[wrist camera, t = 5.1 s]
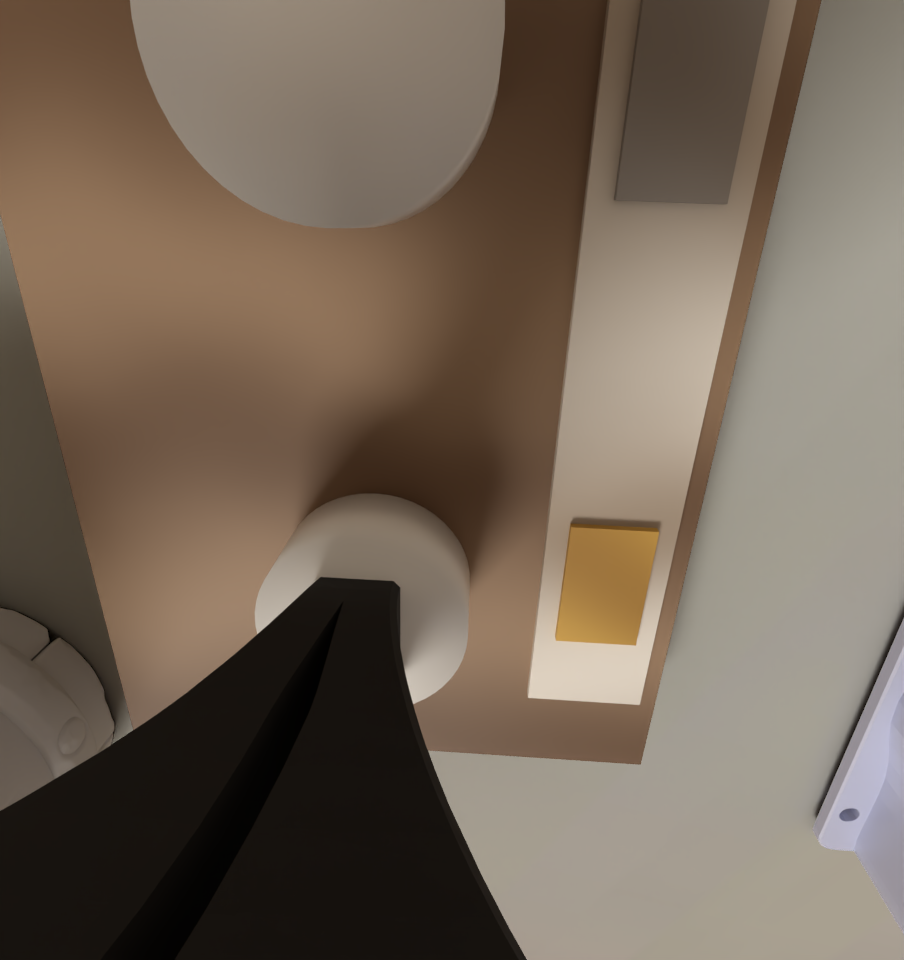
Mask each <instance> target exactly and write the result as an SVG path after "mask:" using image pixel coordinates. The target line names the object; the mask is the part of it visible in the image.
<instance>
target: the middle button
mask: <svg viewBox="0 0 904 960" xmlns="http://www.w3.org/2000/svg"><path fill="white" fill-rule="evenodd" d="M130 6H131V16H132V21H133V26H134V31H135V36H136V41H137V46H138V49H139V53H140V56H141V59H142V62H143V65H144V69H145V72H146V75H147V78H148V80H149V82H150V85H151V87H152V89H153V92H154V94H155V96H156V99H157V101H158V103H159V105H160V107H161V109H162V110H163V112H164V114H165V116H166V118H167V120H168V121H169V123H170V125H171V127H172V128H173V130H174V131H175V133H176V134H177V135H178V137H179V138H180V140H181V141H182V143H183V144H184V146H185V147H186V149H187V150H188V151H189V152H190V153H191V154H192V156H193V157H194V158H195V159H196V160H197V161H198V163H199V164H200V165H201V166H202V167H203V168H204V169H205V170H206V171H207V172H208V173H209V174H210V175H211V176H212V177H213V178H214V179H215V180H216V181H218V182H219V183H220V184H221V185H222V186H223V187H224V188H226V189H227V190H229V191H230V192H231V193H233V194H234V195H235V196H237V197H238V198H239V199H241V200H242V201H244V202H246V203H248V204H249V205H251V206H253V207H255V208H256V209H258V210H260V211H262V212H264V213H267V214H269V215H272V216H274V217H276V218H279V219H281V220H284V221H288V222H292V223H296V224H300V225H304V226H311V227H320V228H373V227H379V226H385V225H390V224H393V223H396V222H399V221H402V220H405V219H408V218H410V217H412V216H414V215H416V214H418V213H420V212H422V211H424V210H425V209H427V208H428V207H430V206H431V205H432V204H434V203H435V202H437V201H438V200H439V199H440V198H442V197H443V196H444V195H445V194H446V193H447V192H448V191H449V190H450V189H451V188H452V187H453V186H454V185H455V184H456V183H457V181H458V180H459V179H460V178H461V177H462V175H463V174H464V173H465V172H466V170H467V169H468V167H469V166H470V164H471V162H472V161H473V159H474V158H475V156H476V154H477V152H478V150H479V148H480V146H481V144H482V142H483V140H484V138H485V136H486V133H487V130H488V127H489V124H490V121H491V118H492V116H493V111H494V107H495V102H496V98H497V93H498V84H499V76H500V67H501V58H502V49H503V40H504V31H505V0H130Z"/></svg>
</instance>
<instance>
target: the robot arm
mask: <svg viewBox="0 0 904 960" xmlns="http://www.w3.org/2000/svg"><path fill="white" fill-rule="evenodd" d="M813 832H814V834H815V835H816V837H817V839H818V841H819V843H820V845H822V846H823V847H825V848H828V849H833V850H846V851H855V853H856V855H857V857H858V859H859V860H860V862H861V864H862V865H863V867H864V869H865V870H866V872H867V874H868V875H869V877H870V879H871V880H872V882H873V884H874V885H875V887H876V889H877V890H878V892H879V894H880V895H881V897H882V899H883V900H884V902H885V904H886V905H887V907H888V909H889V911H890V912H891V914H892V916H893V917H894V919H895V921H896V922H897V924H898V926H899V927H900V929H901V931H902V932H903V934H904V619H903V621H902V623H901V626H900V628H899V630H898V632H897V635H896V637H895V639H894V642H893V644H892V646H891V649H890V651H889V653H888V655H887V658H886V660H885V662H884V665H883V667H882V669H881V671H880V674H879V676H878V678H877V681H876V683H875V685H874V688H873V690H872V692H871V694H870V697H869V699H868V701H867V704H866V706H865V708H864V711H863V713H862V715H861V717H860V720H859V722H858V724H857V727H856V729H855V731H854V734H853V736H852V738H851V740H850V743H849V745H848V747H847V750H846V752H845V754H844V757H843V759H842V761H841V763H840V766H839V768H838V770H837V773H836V775H835V777H834V780H833V782H832V784H831V786H830V789H829V791H828V793H827V796H826V798H825V800H824V803H823V805H822V807H821V809H820V812H819V814H818V816H817V819H816V821H815V823H814V826H813ZM0 960H527V959H526V958H525V956H524V954H523V952H522V950H521V949H520V947H519V945H518V943H517V942H516V940H515V938H514V936H513V934H512V933H511V931H510V929H509V927H508V925H507V923H506V921H505V919H504V918H503V916H502V914H501V912H500V910H499V908H498V906H497V904H496V902H495V900H494V898H493V896H492V895H491V893H490V891H489V889H488V887H487V885H486V883H485V881H484V879H483V877H482V875H481V873H480V871H479V869H478V867H477V865H476V862H475V860H474V858H473V856H472V854H471V852H470V850H469V847H468V845H467V843H466V841H465V839H464V837H463V834H462V832H461V830H460V828H459V826H458V824H457V822H456V819H455V817H454V815H453V813H452V811H451V809H450V806H449V804H448V802H447V799H446V797H445V794H444V792H443V789H442V787H441V784H440V782H439V779H438V777H437V774H436V772H435V769H434V766H433V763H432V761H431V758H430V755H429V752H428V750H427V747H426V744H425V741H424V738H423V735H422V732H421V729H420V726H419V723H418V719H417V716H416V713H415V709H414V705H413V702H412V698H411V695H410V691H409V687H408V683H407V678H406V674H405V669H404V664H403V659H402V653H401V648H400V587H399V586H398V585H397V584H396V583H395V582H394V581H385V580H365V579H348V578H331V577H320V578H319V579H318V580H316V581H315V582H314V583H313V584H312V585H311V586H310V587H308V588H307V589H306V590H305V591H304V592H303V593H302V594H301V595H300V596H299V597H298V598H297V599H295V600H294V601H293V602H292V603H291V604H290V605H289V606H288V607H287V608H286V609H285V610H284V611H283V612H281V613H280V614H279V615H278V616H277V617H276V618H275V619H274V620H273V621H272V622H271V623H269V624H268V625H267V626H266V627H265V628H264V629H263V630H262V631H260V632H259V633H258V634H257V635H256V636H255V637H254V638H252V639H251V640H250V641H249V642H248V643H247V644H246V645H244V646H243V647H242V648H241V649H240V650H239V651H238V652H236V653H235V654H234V655H233V656H232V657H230V658H229V659H228V660H227V661H226V662H224V663H223V664H222V665H221V666H219V667H218V668H217V669H216V670H214V671H213V672H212V673H211V674H209V675H208V676H207V677H206V678H204V679H203V680H202V681H201V682H199V683H198V684H197V685H196V686H194V687H193V688H192V689H191V690H189V691H188V692H187V693H186V694H184V695H183V696H181V697H180V698H179V699H177V700H176V701H175V702H173V703H172V704H171V705H169V706H168V707H166V708H165V709H164V710H162V711H161V712H159V713H158V714H157V715H155V716H154V717H152V718H151V719H149V720H148V721H146V722H145V723H143V724H142V725H140V726H139V727H137V728H136V729H134V730H133V731H131V732H130V733H128V734H127V735H126V736H124V737H123V738H121V739H120V740H118V741H117V742H115V743H113V744H112V745H110V746H109V747H107V748H106V749H104V750H103V751H101V752H99V753H98V754H96V755H94V756H93V757H91V758H89V759H88V760H86V761H84V762H83V763H81V764H79V765H78V766H76V767H74V768H72V769H71V770H69V771H67V772H66V773H64V774H62V775H61V776H59V777H57V778H56V779H54V780H52V781H51V782H49V783H47V784H46V785H44V786H42V787H41V788H39V789H37V790H36V791H34V792H32V793H31V794H29V795H27V796H25V797H24V798H22V799H20V800H19V801H17V802H15V803H13V804H11V805H10V806H8V807H6V808H4V809H2V810H1V811H0Z"/></svg>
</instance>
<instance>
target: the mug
mask: <svg viewBox="0 0 904 960" xmlns="http://www.w3.org/2000/svg"><path fill="white" fill-rule="evenodd" d="M49 642H50V640H49V636H48V630H47V628H45V627H44V626H42V625H41V624H39V623H37V622H36V621H34V620H32V619H30V618H28V617H26V616H24V615H22V614H20V613H18V612H16V611H13V610H7V609H3V608H0V811H1V810H2V809H4V808H6V807H8V806H10V805H11V804H13V803H15V802H17V801H19V800H20V799H22V798H24V797H25V796H27V795H29V794H31V793H32V792H34V791H36V790H37V789H39V788H41V787H42V786H44V785H46V784H47V783H49V782H51V781H52V780H54V779H56V778H57V777H59V776H61V775H62V774H64V773H66V772H67V771H69V770H71V769H72V768H74V767H76V766H78V765H79V764H81V763H83V762H84V761H86V760H88V759H89V758H91V757H93V756H94V755H96V754H98V753H99V752H101V751H103V750H104V749H106V748H107V747H109V746H110V745H111V743H112V739H113V734H112V733H113V731H114V721H113V720H112V718H111V714H110V711H109V708H108V705H107V703H106V701H105V697H104V689H103V687H102V685H101V683H100V681H99V679H98V677H97V675H96V674H95V672H94V670H93V669H92V668H91V666H90V665H89V664H88V663H87V662H86V660H85V659H84V658H83V657H82V656H81V655H80V654H79V653H78V652H77V651H76V650H75V649H74V648H73V647H72V646H71V645H70V644H68V643H67V642H65V641H64V640H63V639H61V638H58V639H56V640H54V641H53V642H52V643H50V644H49V645H48V643H49ZM47 645H48V646H47Z"/></svg>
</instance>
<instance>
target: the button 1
mask: <svg viewBox="0 0 904 960" xmlns="http://www.w3.org/2000/svg"><path fill="white" fill-rule="evenodd" d="M320 577H331V578H348V579H365V580H385V581H394V582H395V583H396V584H397V585H398V586H399V587H400V648H401V653H402V659H403V664H404V669H405V674H406V678H407V683H408V687H409V691H410V695H411V698H412V702H413V704H415V703H417V702H419V701H421V700H424V699H426V698H427V697H429V696H431V695H432V694H434V693H435V692H437V691H438V690H439V689H441V688H442V687H443V686H444V685H445V684H446V683H447V682H448V681H449V680H450V679H451V678H452V677H453V675H454V674H455V672H456V671H457V669H458V668H459V666H460V664H461V662H462V660H463V657H464V654H465V651H466V647H467V640H468V620H469V592H470V572H469V566H468V561H467V558H466V555H465V552H464V550H463V548H462V546H461V544H460V542H459V540H458V539H457V538H456V536H455V535H454V533H453V532H452V531H451V530H450V528H449V527H448V526H447V525H446V524H445V523H444V522H443V521H442V520H440V519H439V518H438V517H437V516H436V515H434V514H433V513H431V512H430V511H428V510H427V509H425V508H424V507H422V506H420V505H418V504H416V503H414V502H411V501H408V500H405V499H403V498H399V497H395V496H391V495H385V494H376V493H364V494H355V495H348V496H345V497H341V498H337V499H335V500H332V501H330V502H327V503H325V504H324V505H322V506H320V507H318V508H317V509H315V510H314V511H313V512H311V513H310V514H309V515H308V516H307V517H306V518H305V519H304V520H303V521H302V522H301V523H300V524H299V526H298V527H297V528H296V530H295V531H294V533H293V534H292V536H291V538H290V539H289V541H288V542H287V544H286V546H285V547H284V549H283V551H282V552H281V554H280V555H279V557H278V559H277V560H276V562H275V563H274V565H273V567H272V568H271V570H270V572H269V573H268V575H267V576H266V578H265V580H264V582H263V584H262V586H261V588H260V590H259V593H258V596H257V600H256V606H255V625H256V630H257V634H258V633H259V632H260V631H262V630H263V629H264V628H265V627H266V626H267V625H268V624H269V623H271V622H272V621H273V620H274V619H275V618H276V617H277V616H278V615H279V614H280V613H281V612H283V611H284V610H285V609H286V608H287V607H288V606H289V605H290V604H291V603H292V602H293V601H294V600H295V599H297V598H298V597H299V596H300V595H301V594H302V593H303V592H304V591H305V590H306V589H307V588H308V587H310V586H311V585H312V584H313V583H314V582H315V581H316V580H318V579H319V578H320Z"/></svg>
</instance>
